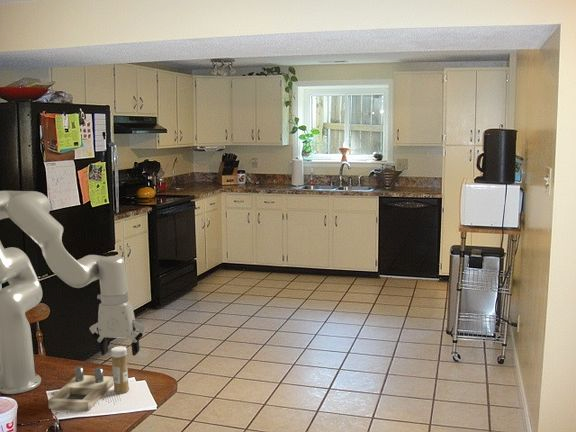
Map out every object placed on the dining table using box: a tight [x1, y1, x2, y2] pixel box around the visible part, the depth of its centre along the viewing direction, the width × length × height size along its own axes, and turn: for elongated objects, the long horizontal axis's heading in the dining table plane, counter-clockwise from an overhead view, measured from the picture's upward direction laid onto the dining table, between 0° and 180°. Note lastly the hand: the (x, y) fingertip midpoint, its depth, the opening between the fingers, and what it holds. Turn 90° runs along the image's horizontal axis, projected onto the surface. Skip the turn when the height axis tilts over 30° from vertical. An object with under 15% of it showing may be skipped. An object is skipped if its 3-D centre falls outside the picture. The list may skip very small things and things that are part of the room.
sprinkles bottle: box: [110, 345, 130, 395], centre depth 186 cm, size 5×5×14 cm
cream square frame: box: [47, 365, 114, 412], centre depth 183 cm, size 12×17×6 cm
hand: (120, 353), depth 185 cm, fingers open, 9 cm apart
